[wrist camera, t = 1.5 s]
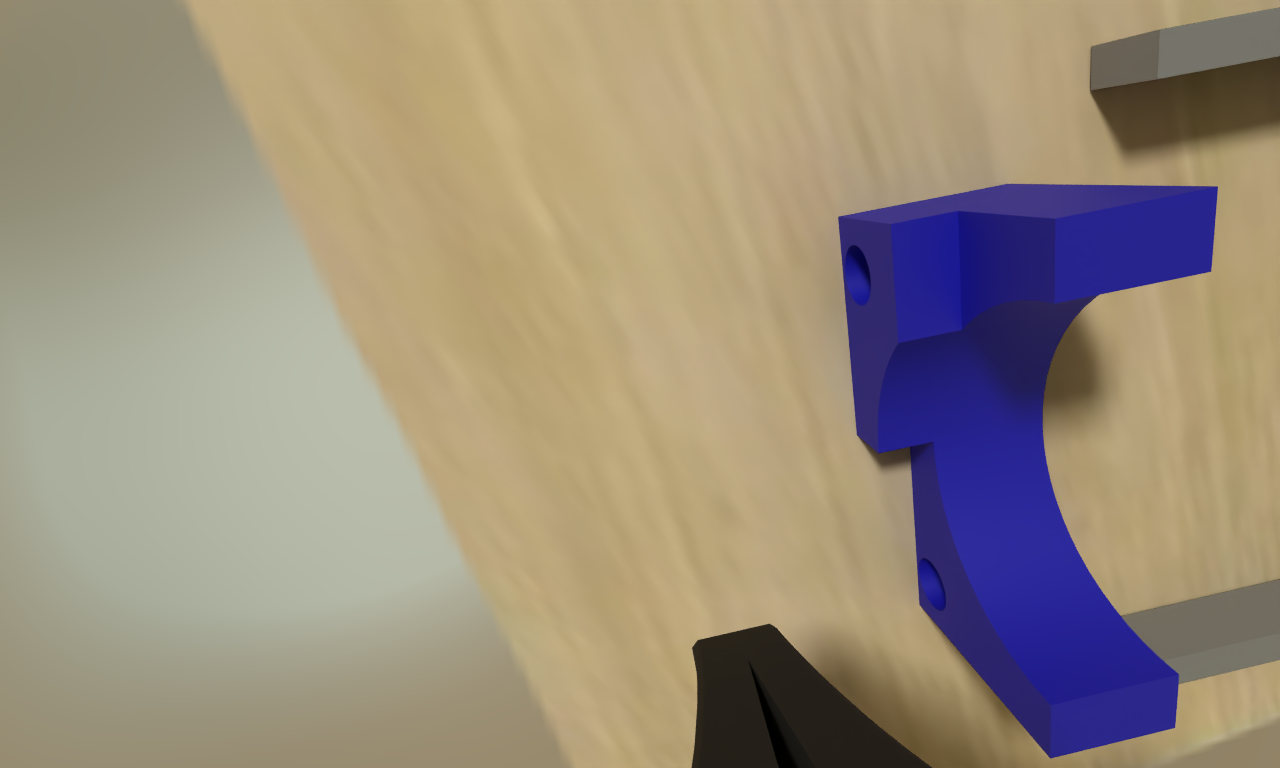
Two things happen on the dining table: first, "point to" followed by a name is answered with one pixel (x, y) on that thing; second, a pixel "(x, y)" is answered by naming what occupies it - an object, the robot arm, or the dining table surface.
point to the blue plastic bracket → (1010, 426)
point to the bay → (1260, 614)
